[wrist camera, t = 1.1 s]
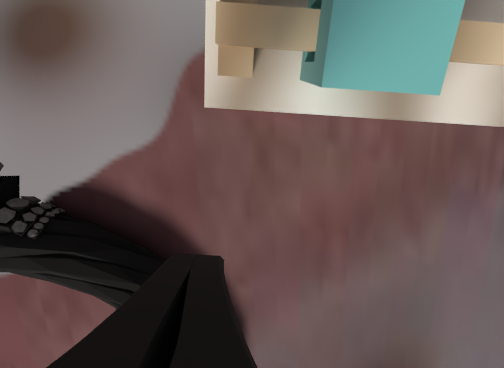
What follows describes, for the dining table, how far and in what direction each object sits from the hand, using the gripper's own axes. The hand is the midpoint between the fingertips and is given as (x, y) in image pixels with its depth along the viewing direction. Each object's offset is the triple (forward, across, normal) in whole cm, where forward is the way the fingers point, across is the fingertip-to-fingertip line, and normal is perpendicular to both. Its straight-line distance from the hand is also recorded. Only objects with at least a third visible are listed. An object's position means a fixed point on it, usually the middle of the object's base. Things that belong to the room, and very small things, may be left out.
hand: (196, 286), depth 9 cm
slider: (+9, -6, -7) cm, 12 cm away
